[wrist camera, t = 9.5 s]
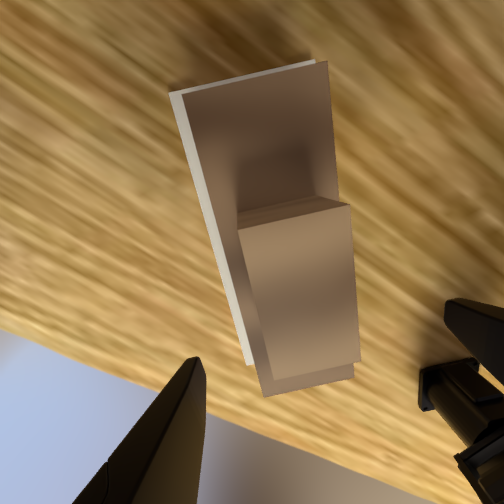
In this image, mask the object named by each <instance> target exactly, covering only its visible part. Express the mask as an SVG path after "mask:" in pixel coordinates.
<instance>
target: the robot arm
mask: <svg viewBox="0 0 504 504" xmlns="http://www.w3.org/2000/svg"><path fill="white" fill-rule="evenodd" d="M444 322H445V324H446V326H447V327H448V328H449V329H450V331H451V332H452V333H453V334H454V335H455V336H456V337H457V338H458V339H459V340H460V342H461V343H462V344H463V345H464V346H465V347H466V348H467V349H468V350H469V352H470V353H471V354H472V355H473V356H474V357H475V358H470V359H465V360H460V361H456V362H451V363H447V364H442V365H438V366H433V367H429V368H424V369H422V370H421V372H420V393H419V408H420V409H421V410H422V411H423V412H425V411H430V410H434V409H436V411H437V412H438V413H439V414H440V415H441V416H442V418H443V419H444V420H445V421H446V422H447V424H448V425H449V426H450V427H451V428H452V430H453V431H454V432H455V433H456V434H457V435H458V437H459V438H460V439H461V440H462V441H463V443H464V444H465V445H466V446H467V447H468V448H467V449H466V450H464V451H463V452H461V453H460V454H459V453H457V454H456V455H454V456H453V457H454V458H455V460H456V461H457V463H458V468H459V469H460V471H461V472H462V473H463V475H464V476H465V477H466V479H467V480H468V481H469V483H470V484H471V486H472V487H473V489H474V490H475V492H476V493H477V495H478V497H479V499H480V501H481V502H482V504H504V394H503V393H502V392H501V391H500V390H498V389H497V388H496V387H495V386H494V385H492V384H491V383H490V382H489V381H487V380H486V379H485V378H484V377H483V376H481V375H480V374H479V373H478V371H479V365H480V363H481V364H482V365H483V366H484V367H485V368H486V369H487V370H488V371H489V372H490V373H491V374H492V375H493V376H494V377H495V378H496V379H497V380H498V381H499V382H500V383H501V384H502V385H503V386H504V308H501V307H497V306H493V305H489V304H484V303H480V302H476V301H472V300H467V299H463V298H454V299H450V300H447V301H446V302H445V307H444ZM205 425H206V374H205V371H204V368H203V365H202V363H201V360H200V358H199V357H197V356H196V357H192V358H188V359H186V361H185V362H184V363H183V364H182V366H181V367H180V368H179V369H178V371H177V372H176V373H175V374H174V376H173V377H172V378H171V380H170V381H169V382H168V383H167V385H166V386H165V387H164V388H163V390H162V391H161V392H160V393H159V395H158V396H157V397H156V399H155V400H154V401H153V402H152V404H151V405H150V406H149V408H148V409H147V410H146V411H145V413H144V414H143V415H142V416H141V418H140V419H139V420H138V421H137V423H136V424H135V425H134V426H133V428H132V429H131V430H130V431H129V433H128V434H127V435H126V437H125V438H124V439H123V440H122V442H121V443H120V444H119V445H118V447H117V448H116V449H115V450H114V452H113V453H112V455H111V456H110V457H109V458H108V462H105V463H104V464H103V466H102V467H101V468H100V469H99V471H98V472H97V473H96V475H95V476H94V477H93V478H92V480H91V481H90V482H89V483H88V484H87V486H86V487H85V488H84V489H83V490H82V492H81V493H80V494H79V495H78V497H77V498H76V499H75V500H74V502H73V503H72V504H197V497H198V488H199V480H200V471H201V462H202V454H203V445H204V437H205Z"/></svg>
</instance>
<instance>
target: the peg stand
mask: <svg viewBox="0 0 504 504" xmlns="http://www.w3.org/2000/svg"><path fill="white" fill-rule="evenodd" d="M314 63H315V59H313V60H309V61H304V62H300V63H296V64H291V65H287V66H283V67H278V68H274V69H270V70H265V71H261V72H257V73H252V74H248V75H244V76H239V77H235V78H231V79H226V80H222V81H218V82H213V83H209V84H204V85H200V86H196V87H191V88H187V89H183V90H178V91H174V92H170V93H169V97H170V100H171V104H172V107H173V111H174V114H175V118H176V121H177V125H178V128H179V132H180V135H181V139H182V142H183V146H184V149H185V153H186V156H187V160H188V163H189V167H190V170H191V174H192V177H193V181H194V184H195V188H196V191H197V194H198V198H199V201H200V205H201V208H202V212H203V215H204V219H205V222H206V226H207V229H208V233H209V236H210V240H211V243H212V247H213V250H214V254H215V257H216V261H217V264H218V268H219V271H220V275H221V278H222V282H223V285H224V289H225V292H226V296H227V299H228V303H229V306H230V310H231V313H232V316H233V320H234V323H235V327H236V330H237V334H238V337H239V341H240V344H241V348H242V351H243V355H244V358H245V362H246V365H251V364H255V363H254V360H253V356H252V352H251V349H250V345H249V341H248V338H247V334H246V330H245V327H244V323H243V319H242V316H241V312H240V308H239V305H238V301H237V297H236V293H235V290H234V286H233V282H232V279H231V275H230V271H229V268H228V264H227V260H226V257H225V253H224V249H223V246H222V242H221V238H220V235H219V231H218V227H217V224H216V220H215V216H214V213H213V209H212V205H211V201H210V198H209V194H208V190H207V187H206V183H205V179H204V176H203V172H202V168H201V165H200V161H199V157H198V154H197V150H196V146H195V143H194V139H193V135H192V132H191V128H190V124H189V121H188V117H187V113H186V109H185V106H184V102H183V98H182V95H181V94H185V93H189V92H193V91H198V90H202V89H206V88H211V87H215V86H219V85H224V84H228V83H232V82H236V81H241V80H245V79H249V78H254V77H258V76H262V75H267V74H271V73H275V72H280V71H284V70H288V69H293V68H297V67H301V66H306V65H310V64H314Z"/></svg>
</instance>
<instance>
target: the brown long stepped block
mask: <svg viewBox="0 0 504 504" xmlns="http://www.w3.org/2000/svg"><path fill="white" fill-rule="evenodd" d="M181 95H182V98H183V102H184V106H185V109H186V113H187V117H188V121H189V124H190V128H191V132H192V135H193V139H194V143H195V146H196V150H197V154H198V157H199V161H200V165H201V168H202V172H203V176H204V179H205V183H206V187H207V190H208V194H209V198H210V201H211V205H212V209H213V213H214V216H215V220H216V224H217V227H218V231H219V235H220V238H221V242H222V246H223V249H224V253H225V257H226V260H227V264H228V268H229V271H230V275H231V279H232V282H233V286H234V290H235V293H236V297H237V301H238V305H239V308H240V312H241V316H242V319H243V323H244V327H245V330H246V334H247V338H248V341H249V345H250V349H251V352H252V356H253V360H254V363H255V367H256V371H257V374H258V378H259V382H260V385H261V389H262V393H263V397H269V396H273V395H278V394H282V393H287V392H291V391H296V390H301V389H305V388H310V387H314V386H319V385H323V384H328V383H332V382H337V381H341V380H346V379H350V378H354V366H353V363H356V362H360V361H361V352H360V338H359V324H358V310H357V296H356V282H355V267H354V253H353V239H352V225H351V211H350V204H346V203H343V202H339V191H338V180H337V168H336V156H335V145H334V133H333V121H332V110H331V98H330V86H329V75H328V63H327V61H323V62H319V63H314V64H310V65H306V66H301V67H297V68H293V69H288V70H284V71H280V72H275V73H271V74H267V75H262V76H258V77H254V78H249V79H245V80H241V81H236V82H232V83H228V84H224V85H219V86H215V87H211V88H206V89H202V90H198V91H193V92H189V93H185V94H181Z"/></svg>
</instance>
